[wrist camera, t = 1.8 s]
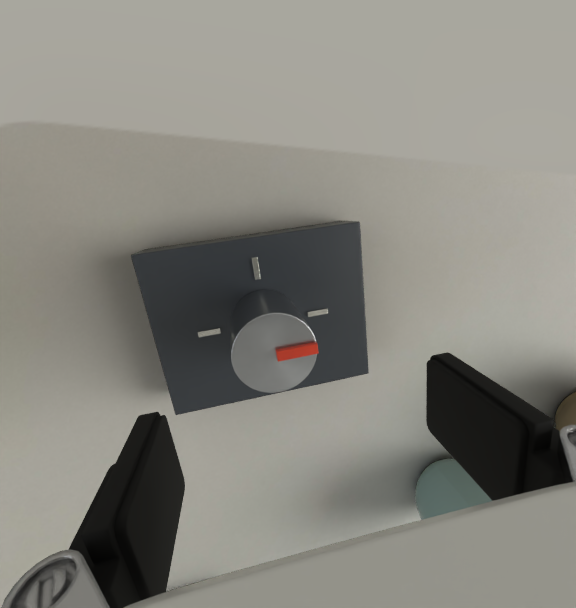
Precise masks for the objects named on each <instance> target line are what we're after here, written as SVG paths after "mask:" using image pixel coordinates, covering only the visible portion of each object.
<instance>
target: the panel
mask: <svg viewBox="0 0 576 608" xmlns="http://www.w3.org/2000/svg"><path fill="white" fill-rule="evenodd" d="M131 257H132V261H133V265H134V268H135V272H136V275H137V279H138V282H139V286H140V290H141V293H142V297H143V300H144V304H145V307H146V311H147V315H148V318H149V322H150V325H151V329H152V332H153V336H154V339H155V343H156V347H157V350H158V354H159V357H160V361H161V364H162V368H163V372H164V375H165V379H166V382H167V386H168V389H169V393H170V397H171V400H172V404H173V407H174V411H175V414H176V415H178V414H183V413H187V412H192V411H197V410H201V409H206V408H210V407H215V406H220V405H224V404H229V403H234V402H238V401H243V400H247V399H252V398H257V397H261V396H266V395H271V394H275V393H266V392H260V391H257V390H254V389H252V388H250V387H249V386H247V385H246V384H244V383H243V382H242V381H241V380H240V379H239V378H238V376H237V375H236V373H235V371H234V369H233V366H232V362H231V316H232V313H233V310H234V308H235V306H236V305H237V303H238V302H239V301H240V300H241V299H242V298H243V297H245V296H246V295H248V294H250V293H252V292H254V291H258V290H273V291H277V292H279V293H281V294H283V295H285V296H286V297H287V298H288V299H289V300H290V301H291V302H292V303H293V305H294V306H295V308H296V309H297V310H298V312H299V313H300V315H301V316H302V317H303V319H304V320H305V322H306V323H307V324H308V326H309V327H310V329H311V330H312V332H313V334H314V336H315V339H316V342H317V344H318V354H317V357H316V361H315V364H314V367H313V368H312V370H311V372H310V373H309V375H308V376H307V377H306V378H305V379H304V380H303V381H302V382H301V383H299V384H298V385H297V386H295V387H293V388H291V389H288V390H286V391H289V390H294V389H298V388H303V387H308V386H312V385H317V384H322V383H326V382H331V381H335V380H340V379H345V378H349V377H354V376H359V375H363V374H368V356H367V338H366V321H365V304H364V286H363V269H362V251H361V234H360V222H356V221H339V222H332V223H325V224H318V225H311V226H304V227H297V228H290V229H283V230H276V231H270V232H263V233H256V234H249V235H242V236H235V237H228V238H221V239H214V240H207V241H200V242H193V243H186V244H179V245H173V246H166V247H159V248H152V249H145V250H142V251H140V252H137V253H135V254H132V255H131ZM282 392H285V391H282ZM277 393H280V392H277Z"/></svg>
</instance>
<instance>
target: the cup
mask: <svg viewBox="0 0 576 608" xmlns="http://www.w3.org/2000/svg"><path fill="white" fill-rule="evenodd" d="M415 501H416V506H417V510H418V512H419V515H420V518H421V520H423V519H427V518H430V517H434V516H438V515H442V514H446V513H449V512H453V511H457V510H461V509H464V508H468V507H472V506H476V505H480V504H483V503H487V502H491V501H492V500H491V499H490V498H489V496H488V495H487V494H486V493H485V492H484V491H483V490H482V489H481V488H480V486H479V485H478V484H477V483H476V482H475V481H474V480H473V479H472V478H471V476H470V475H469V474H468V473H467V472H466V471H465V470H464V469H463V468H462V467H461V465H460V464H459V463H458V462H457V461H456V460H455V459H442V460H439V461H436V462H434V463H432V464H430V465H429V466H428V467H427V468H426V469H425V470H424V471H423V472H422V474H421V475H420V477H419V479H418V481H417V484H416V490H415Z"/></svg>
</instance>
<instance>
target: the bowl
mask: <svg viewBox="0 0 576 608" xmlns="http://www.w3.org/2000/svg"><path fill="white" fill-rule="evenodd" d="M555 423H556V429H557V430H559V431H560V430H561V429H562V428H563V427H565V426H568V425H576V392H574V393H573V394H571V395H569V396H568V397H567V398H566V399H565V400H564V401H563V402H562V403H561V404H560V406H559V407H558V409H557V411H556V415H555Z"/></svg>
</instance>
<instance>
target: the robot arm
mask: <svg viewBox="0 0 576 608" xmlns="http://www.w3.org/2000/svg"><path fill="white" fill-rule="evenodd" d="M553 425H554V420H553V419H552V418H550V417H549V416H547V415H546V414H544V413H542V412H541V411H539V410H538V409H536V408H535V407H533V406H532V405H530V404H528V403H527V402H525V401H524V400H522V399H521V398H519V397H517V396H516V395H514V394H513V393H511V392H510V391H508V390H507V389H505V388H503V387H502V386H500V385H499V384H497V383H496V382H494V381H492V380H491V379H489V378H488V377H486V376H485V375H483V374H482V373H480V372H478V371H477V370H475V369H474V368H472V367H471V366H469V365H467V364H466V363H464V362H463V361H461V360H460V359H458V358H457V357H455V356H453V355H452V354H450V353H443V354H438V355H433V356H432V357H431V358H430V360H429V361H428V362H427V426H428V429H429V430H430V432H431V433H432V434H433V435H434V437H435V438H436V439H437V440H438V441H439V442H440V443H441V444H442V445H443V447H444V448H445V449H446V450H447V451H448V452H449V453H450V454H451V455H452V457H453V458H454V459H455V460H456V461H457V462H458V463H459V464H460V465H461V467H462V468H463V469H464V470H465V471H466V472H467V473H468V474H469V475H470V476H471V478H472V479H473V480H474V481H475V482H476V483H477V484H478V485H479V486H480V488H481V489H482V490H483V491H484V492H485V493H486V494H487V495H488V496H489V498H490V499H491V500H492V501H491V502H487V503H483V504H480V505H476V506H472V507H468V508H464V509H461V510H457V511H453V512H449V513H446V514H442V515H438V516H434V517H430V518H427V519H423V520H419V521H416V522H412V523H408V524H405V525H401V526H397V527H394V528H390V529H386V530H382V531H379V532H375V533H371V534H368V535H364V536H360V537H357V538H353V539H349V540H346V541H342V542H338V543H335V544H331V545H327V546H324V547H320V548H317V549H313V550H309V551H306V552H302V553H299V554H295V555H292V556H288V557H284V558H281V559H277V560H274V561H270V562H266V563H263V564H259V565H256V566H252V567H249V568H245V569H241V570H238V571H234V572H231V573H227V574H224V575H221V576H217V577H214V578H211V579H207V580H204V581H201V582H197V583H194V584H190V585H187V586H184V587H180V588H177V589H174V590H170V591H167V592H166V588H167V582H168V577H169V571H170V566H171V561H172V555H173V550H174V544H175V539H176V534H177V528H178V523H179V517H180V512H181V507H182V501H183V496H184V490H185V482H184V477H183V473H182V470H181V466H180V463H179V459H178V456H177V453H176V449H175V446H174V442H173V439H172V435H171V432H170V428H169V425H168V422H167V418H166V416H165V415H162V416H160V414H159V413H158V412H154V413H149V414H144V415H140V416H139V417H138V418H137V420H136V422H135V424H134V426H133V429H132V431H131V433H130V435H129V437H128V439H127V441H126V443H125V445H124V447H123V449H122V451H121V453H120V455H119V457H118V460H117V462H116V464H113V465H112V466H111V467H110V468H109V470H108V472H107V474H106V476H105V478H104V480H103V482H102V484H101V486H100V488H99V490H98V492H97V494H96V496H95V498H94V500H93V502H92V504H91V506H90V508H89V510H88V512H87V514H86V516H85V518H84V520H83V522H82V524H81V526H80V528H79V530H78V532H77V534H76V536H75V538H74V540H73V542H72V544H71V546H70V548H69V550H64V551H60V552H57V553H55V554H52V555H50V556H48V557H47V558H45V559H43V560H42V561H40V562H39V563H37V564H36V565H35V566H33V567H32V568H31V569H30V570H29V571H27V572H26V573H25V574H24V575H23V576H22V577H21V578H20V580H19V581H18V582H17V583H16V584H15V585H14V586H13V588H12V589H11V591H10V592H9V594H8V595H7V597H6V598H5V600H4V603H3V605H2V607H1V608H576V425H568V426H565V427H563V428H562V429H561V430H560V431H559V430H557V429H556V428H554V427H553Z"/></svg>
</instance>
